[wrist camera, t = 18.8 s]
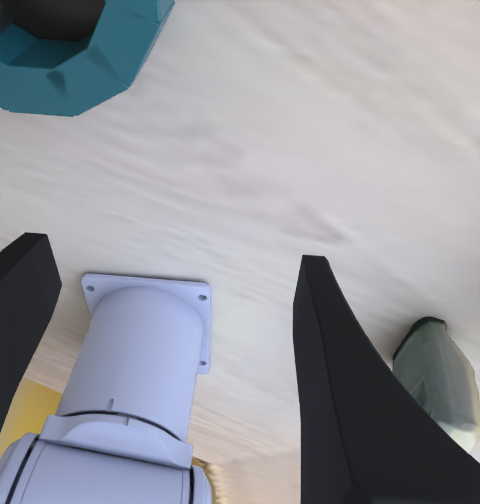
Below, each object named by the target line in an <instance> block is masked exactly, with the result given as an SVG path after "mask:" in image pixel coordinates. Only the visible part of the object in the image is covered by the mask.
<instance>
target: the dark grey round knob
mask: <svg viewBox="0 0 480 504" xmlns="http://www.w3.org/2000/svg"><path fill="white" fill-rule="evenodd" d="M104 4H105V1H104V0H0V35H1V34H3V33H4V32H5V31H6V30H7V29H8V27H9V26H10V25H11V23H13V24H15V25H16V26H18V27H20V28H21V29H23V30H25V31H26V32H28V33H30V34H31V35H33V36H35V37H36V38H38V39H49V40H63V41H77V42H79V41H80V40H82V39H84V38H85V37H87V36H89V35H90V34H92V33H93V32H94V29H95V27H96V24H97V22H98V19H99V17H100V14H101V12H102V9H103V7H104Z"/></svg>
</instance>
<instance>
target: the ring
mask: <svg viewBox="0 0 480 504" xmlns="http://www.w3.org/2000/svg"><path fill="white" fill-rule="evenodd" d="M104 1H105V4H104V7H103V9H102V12H101V14H100V17H99V19H98V22H97V24H96V27H95V29H94V32H93V33H92V34H90V35H89V36H87V37H85V38H84V39H82V40H80V41H79V42H77V41H63V40H49V39H38V38H36V37H35V36H33V35H31V34H30V33H28V32H26V31H25V30H23V29H21V28H20V27H18V26H16V25H15V24H13V23H11V25H10V26H9V27H8V29H7V30H6V31H5V32H4V33H3V34H1V35H0V108H2V109H4V110H9V112H16V113H29V114H43V115H56V116H69V117H73V116H74V115H75V116H78V115H80V114H82V113H84V112H85V111H87V110H89V109H91V108H93V107H95V106H97V105H99V104H100V103H102V102H104V101H106V100H108V99H110V98H112V97H114V96H116V95H117V94H119V93H121V92H123V91H125V90H127V89H128V88H129V87H130V86H131V85H132V83H133V82H134V80H135V78H136V77H137V75H138V73H139V72H140V70H141V68H142V66H143V65H144V63H145V61H146V60H147V58H148V56H149V54H150V52H151V50H152V48H153V46H154V44H155V42H156V40H157V38H158V36H159V34H160V32H161V30H162V28H163V26H164V24H165V22H166V20H167V18H168V16H169V14H170V12H171V10H172V8H173V6H174V4H175V2H174V0H104Z"/></svg>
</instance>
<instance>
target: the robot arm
mask: <svg viewBox="0 0 480 504" xmlns="http://www.w3.org/2000/svg"><path fill="white" fill-rule="evenodd" d="M81 284H82V287H83V291H84V295H85V299H86V303H87V307H88V311H89V315H90V318H91V323H90V326H89V328H88V331H87V334H86V336H85V339H84V341H83V344H82V346H81V349H80V352H79V354H78V357H77V359H76V362H75V364H74V367H73V370H72V372H71V375H70V377H69V380H68V382H67V385H66V388H65V390H64V393H63V395H62V398H61V401H60V403H59V406H58V409H57V411H56V414H55V416H54V415H49V416H47V419H46V422H45V424H44V426H43V429H42V432H41V434H35V433H26V434H25V435H23V436H22V437H21V438H20V439H18V440H17V441H15V442H13V443H12V444H11V445H10V446H9V447H8V448H7V449H6V451H5V452H4V454H3V455H2V457H1V459H0V504H211V488H210V484H209V482H208V480H207V478H206V476H205V474H204V471H203V469H202V468H201V467H199V466H195V465H191V459H192V452H193V445H192V444H188V443H187V436H188V429H189V423H190V416H191V410H192V403H193V397H194V390H195V384H196V377H197V374H207V373H209V370H210V318H211V288H210V286H209V285H208V284H206V283H201V282H189V281H176V280H164V279H152V278H139V277H127V276H115V275H103V274H90V273H88V274H84V275H83V277H82V279H81ZM91 286H92V287H91ZM61 287H62V282H61V279H60V276H59V272H58V269H57V266H56V262H55V259H54V256H53V252H52V249H51V246H50V242H49V239H48V236H47V234H40V233H27V232H25V233H24V234H23V235H21V236H20V237H19V238H17V239H16V240H15V241H13V242H12V243H11V244H10V245H8V246H7V247H6V248H4V249H3V250H2V251H1V252H0V432H1V429H2V427H3V424H4V421H5V418H6V415H7V413H8V410H9V407H10V405H11V402H12V399H13V397H14V394H15V392H16V390H17V387H18V385H19V383H20V381H21V379H22V377H23V375H24V373H25V371H26V369H27V367H28V365H29V363H30V361H31V359H32V357H33V355H34V353H35V351H36V349H37V347H38V344H39V342H40V340H41V338H42V336H43V334H44V332H45V330H46V328H47V326H48V324H49V322H50V320H51V317H52V315H53V312H54V309H55V306H56V303H57V300H58V297H59V294H60V290H61ZM201 295H204V296H201ZM293 344H294V354H295V364H296V374H297V383H298V393H299V403H300V417H301V504H480V463H479V462H478V461H476V460H475V459H474V458H473V457H472V456H471V455H470V454H469V453H467V452H466V451H465V450H464V449H463V448H462V447H461V446H460V445H458V444H457V443H456V442H455V441H454V440H453V439H452V438H451V437H450V436H449V435H448V434H447V433H446V432H445V431H444V430H443V429H442V428H441V427H440V426H439V425H438V424H437V423H436V422H435V421H434V420H433V419H432V418H431V416H430V415H429V414H428V413H427V412H426V411H425V410H424V409H423V408H422V406H421V405H420V404H419V403H418V402H417V401H416V400H415V399H414V398H413V396H412V395H411V394H410V393H409V392H408V391H407V390H406V389H405V387H404V386H403V385H402V384H401V382H400V381H399V380H398V379H397V377H396V376H395V375H394V374H393V372H392V371H391V370H390V368H389V367H388V366H387V364H386V363H385V362H384V360H383V359H382V358H381V356H380V355H379V353H378V352H377V350H376V349H375V348H374V346H373V345H372V343H371V342H370V340H369V338H368V337H367V335H366V334H365V332H364V331H363V329H362V327H361V326H360V324H359V322H358V321H357V319H356V317H355V315H354V314H353V312H352V310H351V308H350V306H349V305H348V303H347V301H346V299H345V297H344V295H343V293H342V291H341V289H340V287H339V285H338V283H337V281H336V279H335V277H334V274H333V272H332V270H331V267H330V265H329V262H328V260H327V259H326V258H325V256H313V255H303V256H302V261H301V266H300V271H299V276H298V282H297V287H296V292H295V297H294V302H293Z"/></svg>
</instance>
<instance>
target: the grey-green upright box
mask: <svg viewBox="0 0 480 504" xmlns="http://www.w3.org/2000/svg"><path fill="white" fill-rule="evenodd" d="M446 330H447V325H446V323H445V321H443V320H440V319H437V318H433V317H426V318H423V319H421V320H419V321H418V322H416V323H415V324H414V325H413V326H412V328H411V330H410V332H409V333H408V335H407V336H406V338H405V339H404V340H403V342H402V343H401V345H400V346H399V348H398V349H397V351H396V352H395V354H394V356H393V374H394V375H395V376H396V377H397V379H398V380H399V381H400V382H401V384H402V385H403V386H404V387H405V389H406V390H407V391H408V392H409V393H410V394H411V395H412V396H413V398H414V399H415V400H416V401H417V402H418V403H419V404H420V405H421V406H422V408H423V409H424V410H425V411H426V412H427V413H428V414H429V415H430V416H431V418H432V419H433V420H434V421H435V422H436V423H437V424H438V425H439V426H440V427H441V428H442V429H443V430H444V431H445V432H446V433H447V434H448V435H449V436H450V437H451V438H452V439H453V440H454V441H455V442H456V443H457V444H458V445H460V446H461V447H462V448H463V449H464V450H465V451H466V452H467V453H469V452H471V451H472V449H473V448H474V447H475V446H476V445H477V443H478V442H479V440H480V400H479V393H478V388H477V385H476V381H475V373H474V370H473V367H472V366H471V364H470V362H469V361H468V359H467V358H466V357H465V355H464V354H463V352H462V351H461V350H460V349H459V348H458V347H457V346H456V345H455V343H454V342H453V341H452V340H451V338H450V337H449V336H448V334H447V332H446Z"/></svg>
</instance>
